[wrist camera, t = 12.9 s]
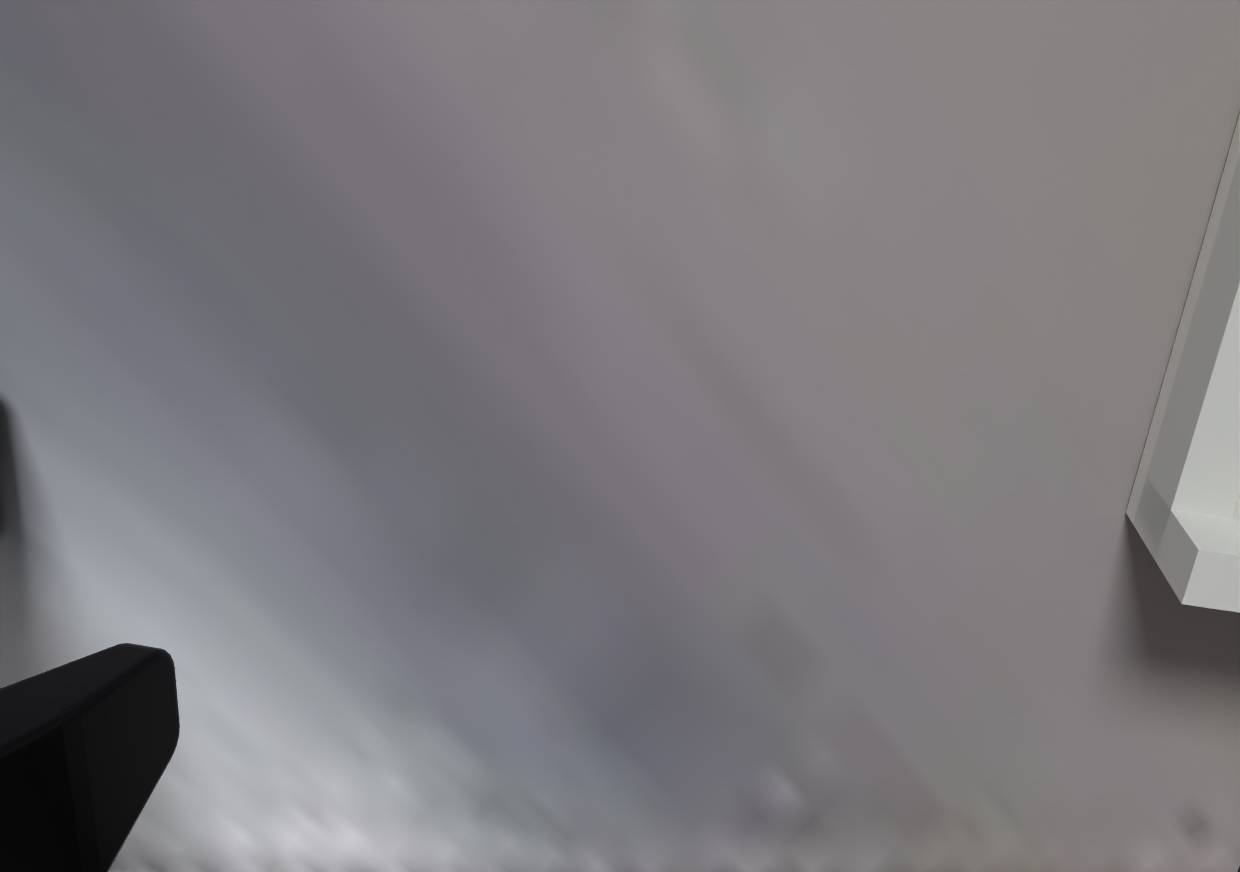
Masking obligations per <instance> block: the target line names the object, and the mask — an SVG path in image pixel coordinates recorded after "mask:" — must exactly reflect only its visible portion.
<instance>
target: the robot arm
mask: <svg viewBox="0 0 1240 872" xmlns="http://www.w3.org/2000/svg"><path fill="white" fill-rule="evenodd" d="M179 727H180V724H179V712H178V701H177V689H176V678H175V667H174V662H173V659H172V657H171V655H170V654H169V653H168V652H166V651H165V650H163V649H159V648H154V647H148V646H142V645H136V644H130V643H124V644H119V645H116V646H113V647H110V648H108V649H105V650H102V651H100V652H97V653H94V654H92V655H89V656H86V657H84V658H81V659H78V660H76V661H73V662H70V663H68V664H65V665H62V666H60V667H57V668H54V669H52V670H49V671H46V672H44V673H41V674H39V675H36V676H33V677H31V678H28V679H25V680H23V681H20V682H17V683H15V684H12V685H9V686H7V687H4V688H1V689H0V872H108V871H109V869H110V867H111V865H112V863H113V862H114V860H115V858H116V856H117V855H118V853H119V851H120V849H121V847H122V846H123V844H124V842H125V840H126V838H127V837H128V835H129V833H130V831H131V829H132V828H133V826H134V824H135V822H136V820H137V819H138V817H139V815H140V813H141V812H142V810H143V808H144V806H145V804H146V803H147V801H148V799H149V797H150V795H151V794H152V792H153V790H154V788H155V786H156V785H157V783H158V781H159V779H160V777H161V776H162V774H163V772H164V770H165V769H166V767H167V765H168V763H169V761H170V760H171V758H172V756H173V754H174V751H175V748H176V746H177V742H178V738H179ZM1238 872H1240V867H1239V869H1238Z"/></svg>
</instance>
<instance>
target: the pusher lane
mask: <svg viewBox="0 0 1240 872" xmlns="http://www.w3.org/2000/svg"><path fill="white" fill-rule="evenodd" d="M1126 514H1127V515H1128V517H1129V519H1130V520H1131V522H1132V524H1133V525H1134V527H1135V528H1136V530H1137V532H1138V533H1139V535H1140V537H1141V538H1142V540H1143V542H1144V543H1145V545H1146V547H1147V548H1148V550H1149V551H1150V553H1151V555H1152V556H1153V558H1154V560H1155V561H1156V563H1157V565H1158V566H1159V568H1160V569H1161V571H1162V573H1163V574H1164V576H1165V578H1166V579H1167V581H1168V583H1169V584H1170V586H1171V588H1172V589H1173V591H1174V592H1175V594H1176V596H1177V597H1178V599H1179V601H1180V602H1181V604H1185V605H1191V606H1198V607H1205V608H1212V609H1218V610H1225V611H1232V612H1239V613H1240V114H1239V117H1238V121H1237V125H1236V128H1235V132H1234V135H1233V139H1232V142H1231V146H1230V149H1229V153H1228V156H1227V160H1226V163H1225V167H1224V170H1223V174H1222V177H1221V181H1220V184H1219V188H1218V191H1217V195H1216V198H1215V202H1214V205H1213V209H1212V212H1211V216H1210V219H1209V223H1208V226H1207V230H1206V233H1205V237H1204V240H1203V244H1202V247H1201V251H1200V254H1199V258H1198V261H1197V265H1196V268H1195V272H1194V275H1193V279H1192V282H1191V286H1190V289H1189V293H1188V296H1187V300H1186V303H1185V307H1184V310H1183V314H1182V317H1181V321H1180V324H1179V328H1178V331H1177V335H1176V338H1175V342H1174V345H1173V349H1172V352H1171V356H1170V359H1169V363H1168V366H1167V370H1166V373H1165V377H1164V380H1163V384H1162V387H1161V391H1160V394H1159V398H1158V401H1157V405H1156V408H1155V412H1154V415H1153V419H1152V423H1151V426H1150V430H1149V433H1148V437H1147V440H1146V444H1145V447H1144V451H1143V454H1142V458H1141V461H1140V465H1139V468H1138V472H1137V475H1136V479H1135V482H1134V486H1133V489H1132V493H1131V496H1130V500H1129V503H1128V507H1127V510H1126Z"/></svg>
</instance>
